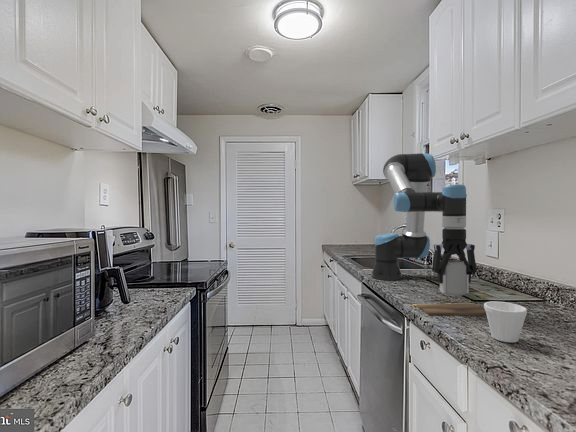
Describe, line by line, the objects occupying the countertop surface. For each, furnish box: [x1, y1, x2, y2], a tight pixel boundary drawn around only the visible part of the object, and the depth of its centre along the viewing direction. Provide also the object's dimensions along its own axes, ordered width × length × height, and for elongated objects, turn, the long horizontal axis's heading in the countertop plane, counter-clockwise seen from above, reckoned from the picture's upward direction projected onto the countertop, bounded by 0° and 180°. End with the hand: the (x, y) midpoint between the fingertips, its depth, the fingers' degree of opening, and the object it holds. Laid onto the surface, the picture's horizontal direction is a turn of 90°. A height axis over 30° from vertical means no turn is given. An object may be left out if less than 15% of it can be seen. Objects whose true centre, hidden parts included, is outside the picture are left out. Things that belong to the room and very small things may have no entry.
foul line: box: [411, 302, 476, 307], centre depth 120 cm, size 1×24×1 cm, turn 91°
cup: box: [483, 300, 528, 344], centre depth 89 cm, size 10×10×9 cm
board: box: [416, 303, 487, 317], centre depth 114 cm, size 10×22×1 cm, turn 91°
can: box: [443, 259, 467, 297], centre depth 113 cm, size 8×8×12 cm
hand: (454, 292), depth 113 cm, fingers closed on can, 7 cm apart
